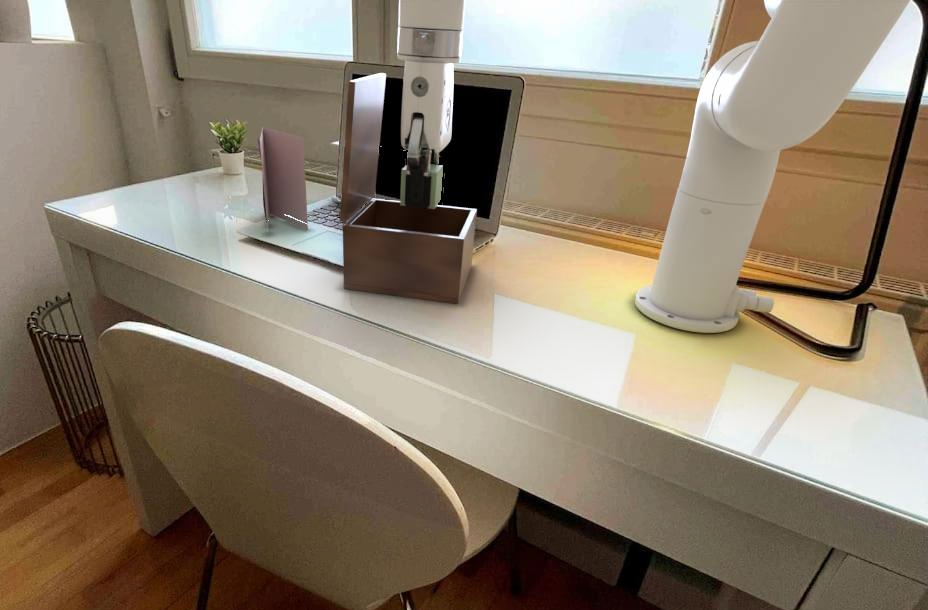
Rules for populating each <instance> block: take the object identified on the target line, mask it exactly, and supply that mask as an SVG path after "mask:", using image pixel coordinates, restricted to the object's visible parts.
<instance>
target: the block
mask: <svg viewBox="0 0 928 610" xmlns="http://www.w3.org/2000/svg"><path fill="white" fill-rule="evenodd" d="M406 168H407V165H406V164H405V166H404V167H402V168H401V169H400V170H401V171H400V200H399V201H400V205H402V206H406V205H405V183H406ZM429 176H432V178H431V194H430V206H429V207H428V208H429V209H435V208H436V206H437V205H438V203H439V202H440V200H441V191H442V177H443V165H434V164H430V172H429Z"/></svg>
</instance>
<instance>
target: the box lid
mask: <svg viewBox="0 0 928 610" xmlns="http://www.w3.org/2000/svg"><path fill="white" fill-rule="evenodd" d="M386 79H387V74H386V73H384V72H379V73H375V74H370V75H367V76H363V77H359V78H355V79H352V80H348V86H347V102H346V114H345V116H346V117H345V130H344V131H345V132H344V140H345V145H344V161H343V176H342V175H341V191H342V192H341V191H340V192H341V193H340V194H341V203H340V207H339V222H342V223H346V222H347V221H348V220H349V219H350V218H352V217H353V216H354V215H355V214H356V213H357V212H358V211H359V210H360V209H361V207H363V206H364V205H365V204H366V203H367V202H368V201H369V200H370V199H371V198H372V197H373V196H374V195H375V196H376V186H377V175H378V164H379V156H380V154H379V146H380V143H381V134H382V133H381V132H382V121H383V111H384V103H385V101H384V100H385V93H386V91H385V90H386Z"/></svg>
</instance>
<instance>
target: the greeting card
mask: <svg viewBox="0 0 928 610" xmlns="http://www.w3.org/2000/svg"><path fill="white" fill-rule="evenodd" d="M257 143H258V151H259V156H260V163H261V171H262V172H261V173H262V175H261V176H262V205H263V212H264V217H265V222H266V228H268V229H267V233H269V232H270V221H271V220H270V219H271V216H273V217H275V218H278V219H280V220H283V221H284V222H287V223H289V224H292V225H294V226H297V227H299V228H302V229H303V230H305V231H309V222H308V221H309V220H308V202H307V182H306V181H307V180H306V162H305V147H304V146H305V141H304V137H301V136H297V135H294V134H288V133H286V132H283V131H280V130H279V131H278V130H275V129H270V128H267V127H263V126H262V127H261V132H260V137H259V138H257ZM284 214H286V215H290V216H292V217H294V218H296V219H298V220H301V221H303V222H305V223H307V224H308V225H307V224H305V223H302V222H300V221H297V220H295V219H293V218H290V217H288V216H285V215H284ZM268 220H269V221H268Z"/></svg>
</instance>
